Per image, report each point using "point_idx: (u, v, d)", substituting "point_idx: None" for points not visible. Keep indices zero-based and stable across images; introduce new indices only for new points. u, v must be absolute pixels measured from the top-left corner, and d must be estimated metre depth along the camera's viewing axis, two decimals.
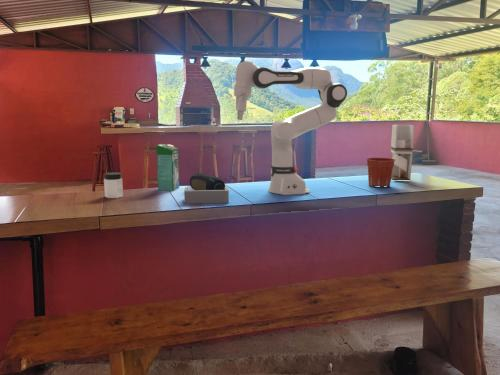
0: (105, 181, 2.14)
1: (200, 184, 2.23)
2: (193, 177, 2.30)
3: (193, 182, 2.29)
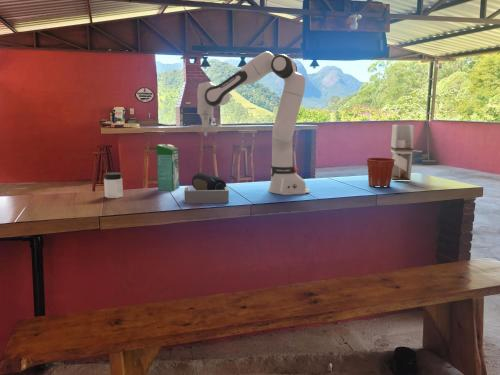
0: (105, 181, 2.14)
1: (202, 184, 2.23)
2: (195, 177, 2.31)
3: (195, 182, 2.30)
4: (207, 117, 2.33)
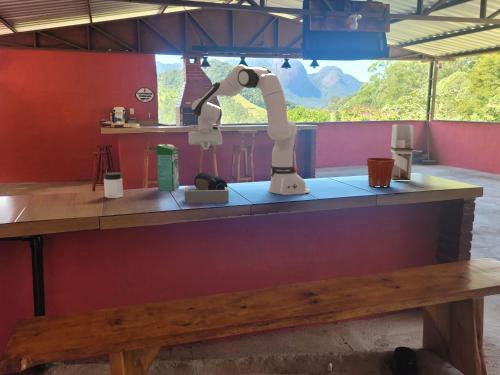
0: (105, 181, 2.14)
1: (203, 184, 2.24)
2: (197, 177, 2.32)
3: (197, 182, 2.30)
4: (189, 133, 2.55)
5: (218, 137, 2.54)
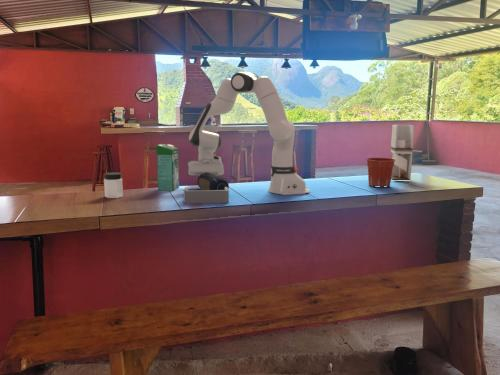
0: (105, 181, 2.14)
1: (205, 183, 2.24)
2: (200, 176, 2.32)
3: (200, 181, 2.30)
4: (189, 164, 2.44)
5: (219, 168, 2.43)
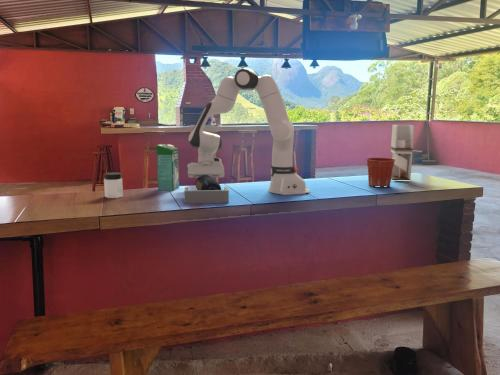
0: (105, 181, 2.14)
1: (199, 186, 2.15)
2: (198, 179, 2.24)
3: (196, 184, 2.23)
4: (189, 166, 2.36)
5: (220, 170, 2.35)
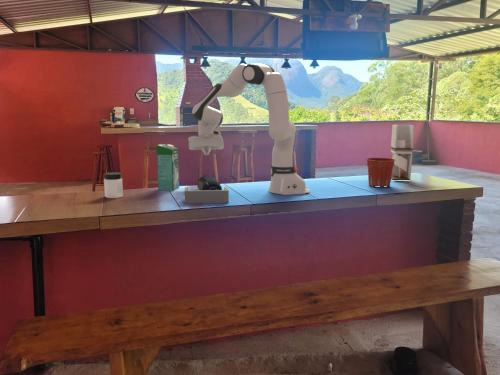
0: (105, 181, 2.14)
1: (200, 186, 2.16)
2: (199, 179, 2.24)
3: (198, 184, 2.23)
4: (190, 139, 2.48)
5: (219, 142, 2.47)
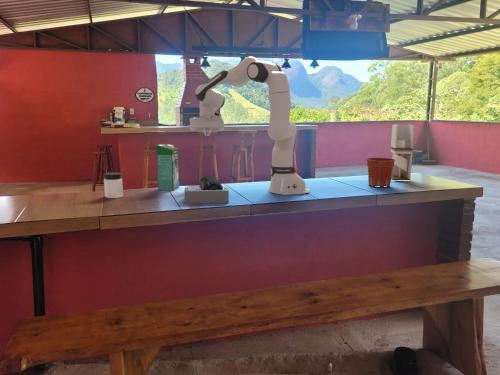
0: (105, 181, 2.14)
1: (201, 186, 2.16)
2: (201, 179, 2.25)
3: (200, 184, 2.23)
4: (191, 120, 2.51)
5: (220, 123, 2.50)
